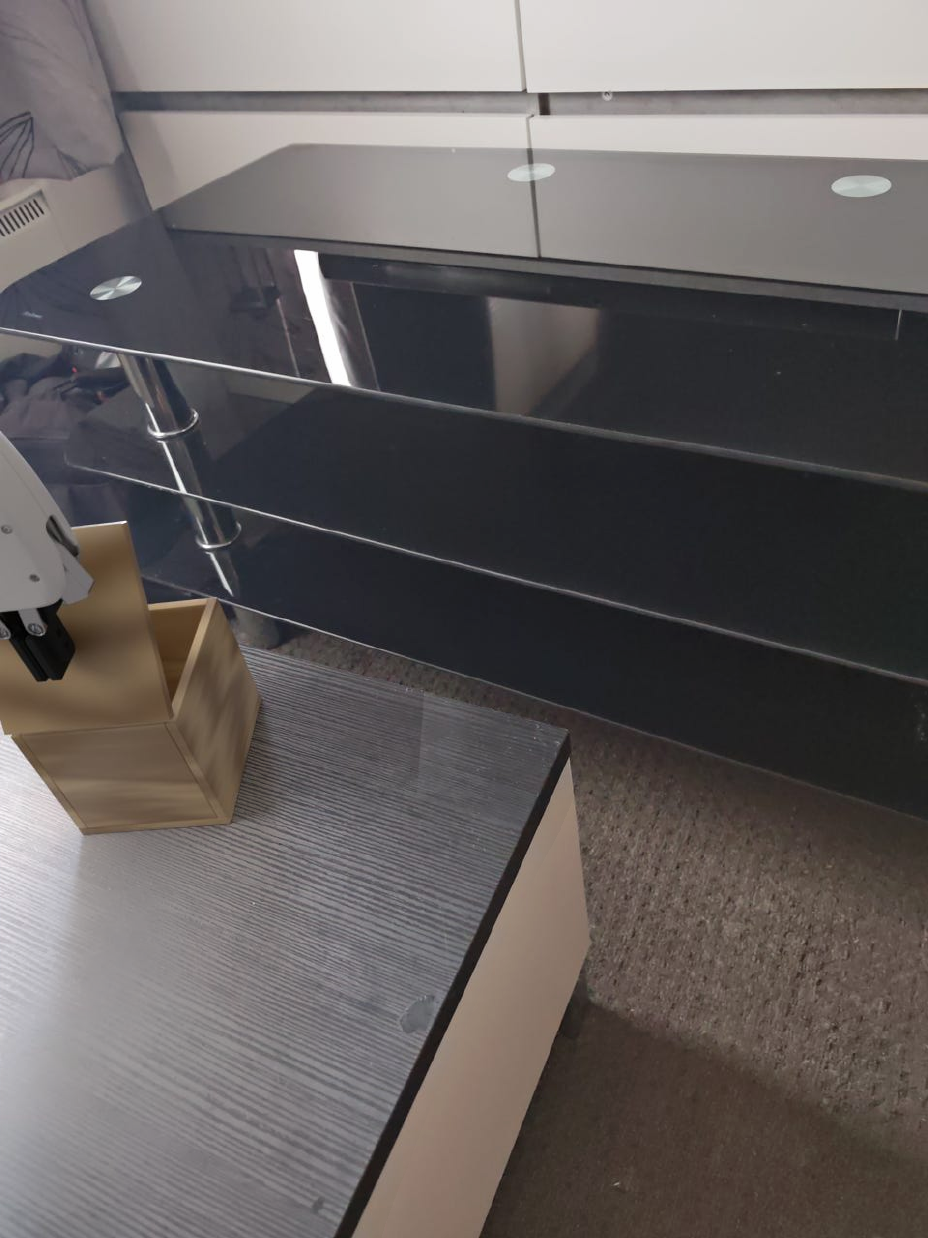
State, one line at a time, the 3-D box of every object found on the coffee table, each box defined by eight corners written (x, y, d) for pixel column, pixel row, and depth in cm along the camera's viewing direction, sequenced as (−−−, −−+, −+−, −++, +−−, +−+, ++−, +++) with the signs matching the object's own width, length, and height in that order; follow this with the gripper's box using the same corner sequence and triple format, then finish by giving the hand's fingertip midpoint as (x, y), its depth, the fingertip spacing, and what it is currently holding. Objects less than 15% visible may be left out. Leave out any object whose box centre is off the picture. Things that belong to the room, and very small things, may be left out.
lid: (-47, 540, 62) (-54, 543, 62) (127, 520, 61) (122, 522, 60) (10, 731, 67) (3, 735, 66) (175, 716, 65) (170, 721, 64)
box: (131, 710, 85) (73, 612, 77) (262, 698, 83) (217, 596, 75) (82, 834, 75) (10, 737, 66) (230, 824, 73) (175, 722, 65)
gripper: (-256, 487, 48) (-68, 717, 60) (8, 453, 46) (146, 697, 59) (-179, 414, 54) (-21, 638, 66) (59, 381, 52) (176, 618, 64)
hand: (57, 665), depth 62 cm, fingers closed
